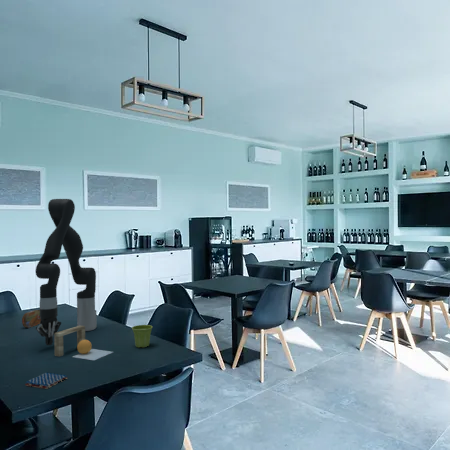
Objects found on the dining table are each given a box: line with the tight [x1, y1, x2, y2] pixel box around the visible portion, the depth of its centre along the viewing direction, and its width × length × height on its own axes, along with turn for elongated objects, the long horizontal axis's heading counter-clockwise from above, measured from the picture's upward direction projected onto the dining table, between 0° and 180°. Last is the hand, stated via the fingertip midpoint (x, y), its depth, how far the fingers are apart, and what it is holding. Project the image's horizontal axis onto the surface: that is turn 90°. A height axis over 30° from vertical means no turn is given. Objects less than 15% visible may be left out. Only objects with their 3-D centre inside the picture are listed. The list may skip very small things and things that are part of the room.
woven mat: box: [24, 372, 68, 390], centre depth 149 cm, size 10×11×2 cm
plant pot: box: [131, 324, 153, 348], centre depth 192 cm, size 9×9×9 cm
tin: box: [21, 309, 41, 329], centre depth 235 cm, size 15×3×8 cm, turn 168°
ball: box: [76, 339, 93, 354], centre depth 182 cm, size 6×6×6 cm
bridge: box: [53, 325, 86, 357], centre depth 186 cm, size 3×15×10 cm, turn 155°
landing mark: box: [72, 348, 114, 362], centre depth 180 cm, size 12×12×1 cm
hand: (49, 344), depth 191 cm, fingers closed
